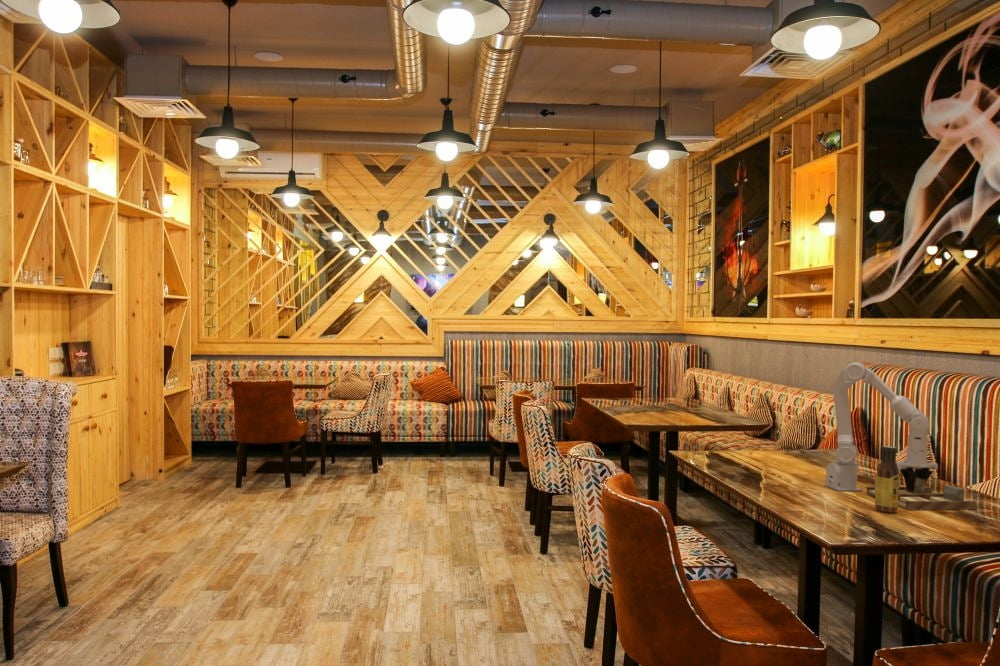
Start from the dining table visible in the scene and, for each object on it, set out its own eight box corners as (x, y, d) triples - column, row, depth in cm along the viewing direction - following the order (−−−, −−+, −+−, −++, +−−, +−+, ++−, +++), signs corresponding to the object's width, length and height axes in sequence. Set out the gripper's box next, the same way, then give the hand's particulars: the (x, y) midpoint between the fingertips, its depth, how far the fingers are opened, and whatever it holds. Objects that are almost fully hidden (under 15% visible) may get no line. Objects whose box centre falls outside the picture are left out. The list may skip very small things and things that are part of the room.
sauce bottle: (896, 515, 215) (900, 449, 215) (873, 511, 219) (877, 446, 218) (898, 510, 221) (901, 446, 221) (875, 506, 224) (878, 444, 224)
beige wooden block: (883, 498, 232) (884, 480, 232) (868, 492, 239) (869, 475, 239) (926, 498, 235) (927, 480, 235) (910, 492, 242) (911, 475, 241)
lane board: (907, 510, 222) (908, 491, 222) (866, 494, 240) (867, 477, 240) (975, 509, 226) (976, 491, 226) (929, 494, 245) (930, 477, 244)
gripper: (906, 452, 232) (904, 493, 233) (945, 452, 235) (943, 493, 235) (891, 448, 239) (888, 488, 240) (929, 448, 242) (927, 488, 242)
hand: (914, 490), depth 238 cm, fingers closed on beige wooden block, 3 cm apart
